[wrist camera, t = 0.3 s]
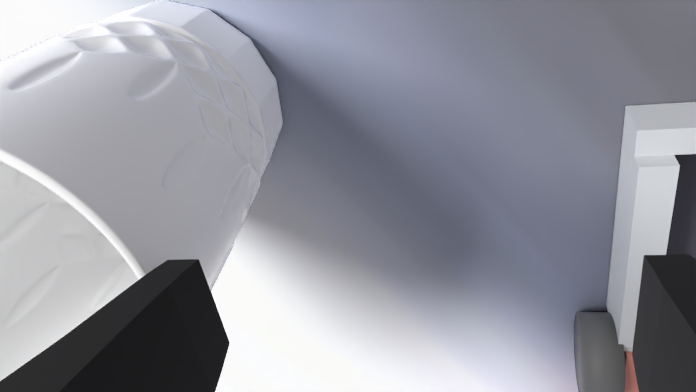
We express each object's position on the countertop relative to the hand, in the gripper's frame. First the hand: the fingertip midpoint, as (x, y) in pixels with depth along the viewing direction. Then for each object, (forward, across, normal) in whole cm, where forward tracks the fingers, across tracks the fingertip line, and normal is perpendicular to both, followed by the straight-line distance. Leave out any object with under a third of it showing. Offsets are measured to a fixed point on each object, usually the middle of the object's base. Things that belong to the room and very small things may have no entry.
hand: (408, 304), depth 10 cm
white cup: (+10, +9, 0) cm, 13 cm away
